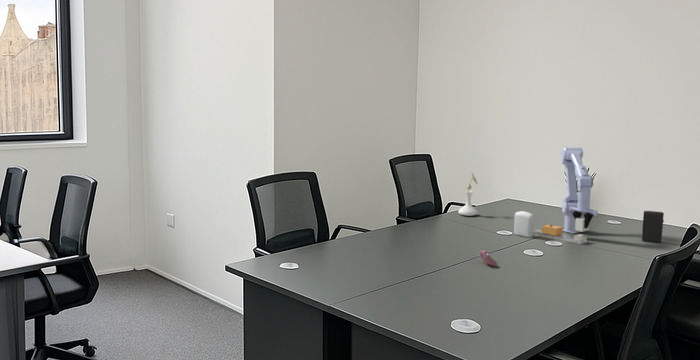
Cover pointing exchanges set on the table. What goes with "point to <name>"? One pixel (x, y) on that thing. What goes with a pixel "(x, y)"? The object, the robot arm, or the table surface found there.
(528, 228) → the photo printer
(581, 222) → the block
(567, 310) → the table surface
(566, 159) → the robot arm
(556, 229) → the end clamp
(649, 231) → the card reader
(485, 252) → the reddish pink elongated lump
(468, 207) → the flower in vase
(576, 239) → the mounting rail
